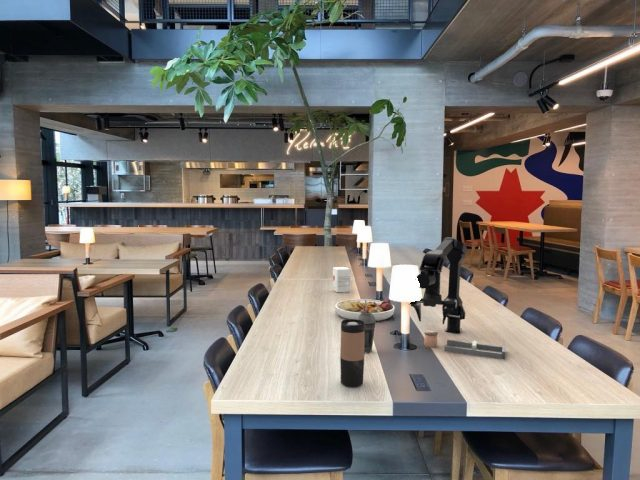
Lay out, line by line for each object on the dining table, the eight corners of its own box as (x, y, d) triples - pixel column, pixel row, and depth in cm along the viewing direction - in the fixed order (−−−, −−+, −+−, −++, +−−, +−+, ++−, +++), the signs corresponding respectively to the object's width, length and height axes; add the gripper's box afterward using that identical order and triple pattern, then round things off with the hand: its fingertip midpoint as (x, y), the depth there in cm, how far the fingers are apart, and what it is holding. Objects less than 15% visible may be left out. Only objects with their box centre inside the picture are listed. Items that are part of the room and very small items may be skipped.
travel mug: (362, 378, 149) (363, 318, 147) (365, 387, 141) (366, 325, 139) (339, 378, 149) (339, 318, 147) (340, 388, 141) (341, 325, 139)
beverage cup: (360, 354, 171) (361, 303, 169) (353, 348, 178) (354, 298, 176) (378, 353, 173) (379, 302, 171) (371, 347, 180) (372, 297, 178)
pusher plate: (472, 347, 179) (473, 340, 179) (476, 348, 178) (477, 341, 178) (471, 352, 173) (471, 345, 173) (475, 353, 173) (475, 345, 172)
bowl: (346, 325, 211) (346, 309, 211) (328, 309, 240) (328, 295, 239) (404, 321, 219) (404, 305, 219) (380, 306, 248) (380, 292, 247)
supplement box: (332, 290, 290) (332, 267, 288) (345, 289, 292) (345, 266, 291) (337, 293, 281) (337, 269, 280) (350, 292, 284) (350, 268, 282)
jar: (425, 342, 186) (425, 329, 185) (438, 344, 184) (438, 331, 183) (422, 346, 181) (423, 333, 180) (436, 348, 179) (436, 334, 178)
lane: (447, 344, 184) (447, 336, 184) (505, 351, 176) (505, 344, 175) (444, 351, 176) (444, 343, 175) (505, 359, 167) (505, 351, 167)
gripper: (405, 286, 176) (404, 325, 178) (454, 290, 169) (453, 331, 170) (411, 281, 186) (410, 318, 188) (457, 285, 179) (456, 323, 181)
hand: (431, 322), depth 181 cm, fingers open, 9 cm apart
